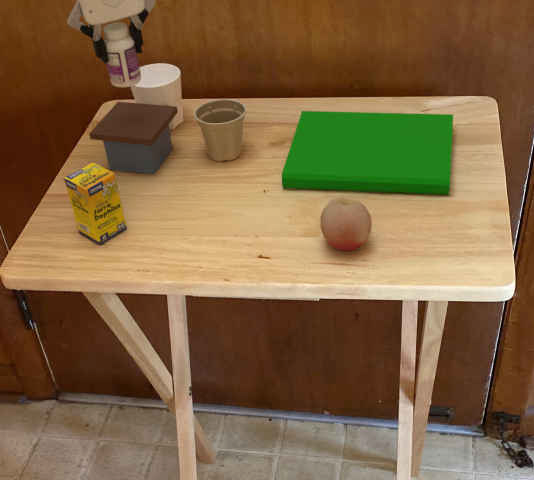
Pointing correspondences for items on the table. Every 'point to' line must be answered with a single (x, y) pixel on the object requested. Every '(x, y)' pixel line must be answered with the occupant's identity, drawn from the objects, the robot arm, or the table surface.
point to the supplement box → (96, 203)
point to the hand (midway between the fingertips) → (120, 54)
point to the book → (371, 152)
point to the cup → (160, 88)
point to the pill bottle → (121, 56)
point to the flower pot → (222, 127)
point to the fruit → (345, 224)
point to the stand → (136, 136)
